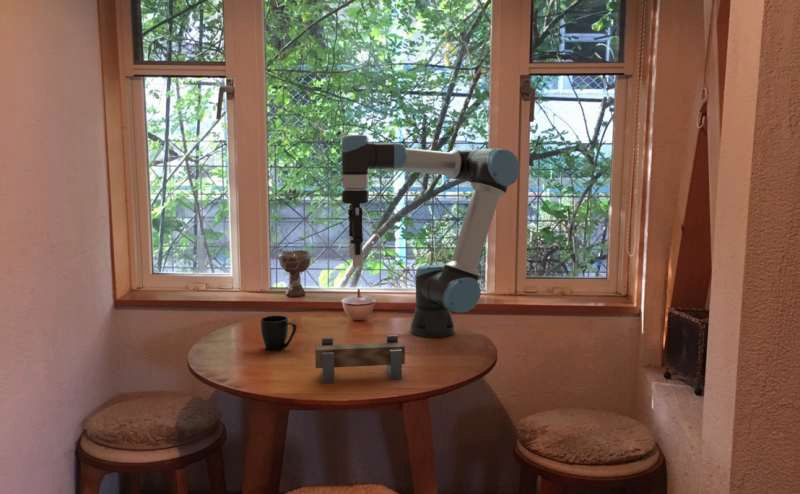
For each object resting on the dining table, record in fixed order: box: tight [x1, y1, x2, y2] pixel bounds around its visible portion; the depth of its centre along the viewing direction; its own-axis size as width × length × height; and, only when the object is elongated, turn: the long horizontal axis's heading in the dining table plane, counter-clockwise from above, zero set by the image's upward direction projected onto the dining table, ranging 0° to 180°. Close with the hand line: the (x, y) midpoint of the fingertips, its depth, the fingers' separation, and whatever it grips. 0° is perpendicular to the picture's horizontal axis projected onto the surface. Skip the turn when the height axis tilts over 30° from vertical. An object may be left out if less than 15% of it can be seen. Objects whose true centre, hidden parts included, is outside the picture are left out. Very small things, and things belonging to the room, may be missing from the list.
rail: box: [314, 341, 406, 369], centre depth 170 cm, size 24×4×5 cm, turn 98°
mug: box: [260, 315, 298, 352], centre depth 194 cm, size 8×12×10 cm
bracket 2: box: [386, 334, 403, 381], centre depth 171 cm, size 3×8×10 cm, turn 8°
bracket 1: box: [321, 337, 335, 384], centre depth 169 cm, size 3×8×10 cm, turn 8°
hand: (355, 262), depth 183 cm, fingers open, 13 cm apart
